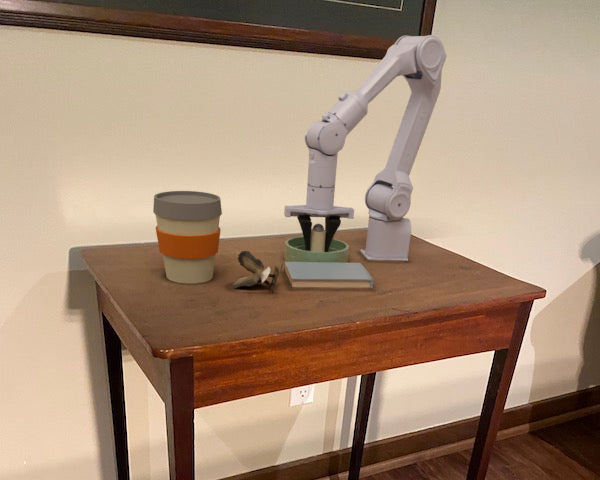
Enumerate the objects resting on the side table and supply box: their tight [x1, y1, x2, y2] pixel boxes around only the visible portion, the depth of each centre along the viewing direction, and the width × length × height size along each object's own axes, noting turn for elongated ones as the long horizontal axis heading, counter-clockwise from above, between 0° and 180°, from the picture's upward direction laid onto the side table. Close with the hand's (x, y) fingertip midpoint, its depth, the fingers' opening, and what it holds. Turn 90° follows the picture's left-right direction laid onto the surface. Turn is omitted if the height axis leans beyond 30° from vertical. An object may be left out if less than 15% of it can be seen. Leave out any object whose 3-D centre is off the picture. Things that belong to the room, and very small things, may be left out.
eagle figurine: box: [231, 250, 284, 293], centre depth 115 cm, size 8×7×9 cm
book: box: [283, 261, 375, 289], centre depth 122 cm, size 16×11×2 cm
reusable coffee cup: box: [152, 190, 223, 285], centre depth 117 cm, size 13×13×15 cm
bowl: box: [283, 235, 350, 263], centre depth 133 cm, size 14×14×4 cm
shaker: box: [310, 223, 326, 252], centre depth 132 cm, size 4×4×8 cm
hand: (316, 251), depth 133 cm, fingers closed on shaker, 3 cm apart
